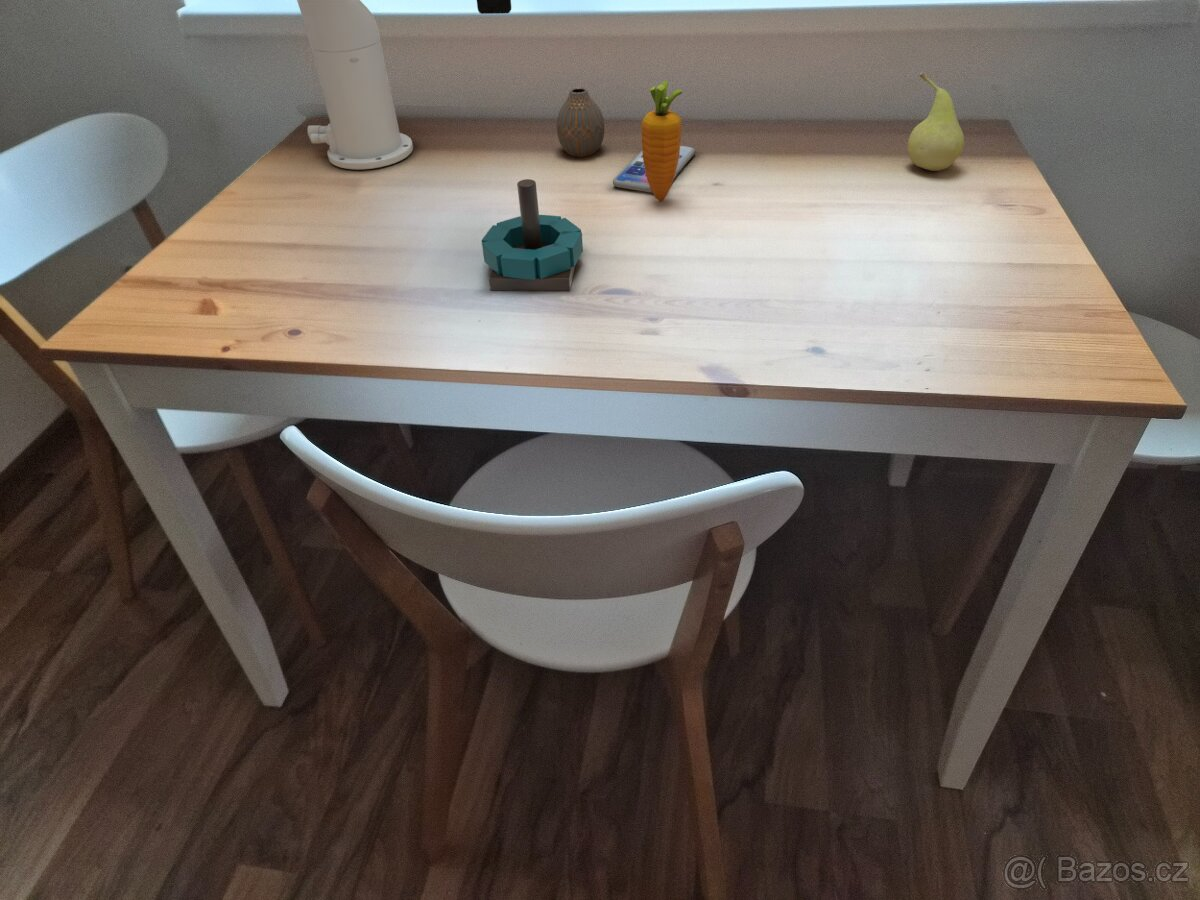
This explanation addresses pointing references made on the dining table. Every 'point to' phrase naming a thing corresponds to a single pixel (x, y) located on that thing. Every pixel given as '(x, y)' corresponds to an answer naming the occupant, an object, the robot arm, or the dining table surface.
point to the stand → (531, 247)
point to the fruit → (936, 134)
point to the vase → (580, 124)
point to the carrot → (661, 142)
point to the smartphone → (636, 175)
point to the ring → (529, 261)
